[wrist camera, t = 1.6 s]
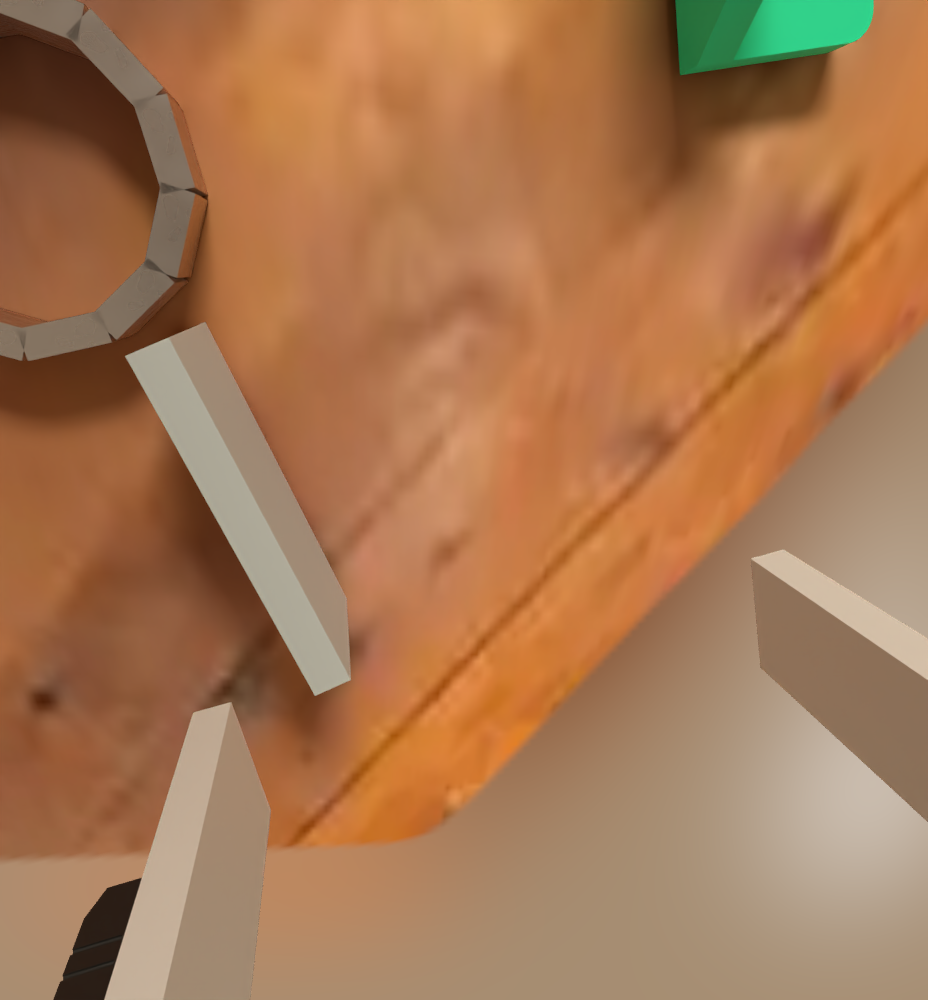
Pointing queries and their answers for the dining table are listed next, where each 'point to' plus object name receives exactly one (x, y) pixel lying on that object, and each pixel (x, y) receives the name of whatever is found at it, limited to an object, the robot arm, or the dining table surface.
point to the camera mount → (764, 30)
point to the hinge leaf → (249, 498)
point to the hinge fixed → (180, 208)
